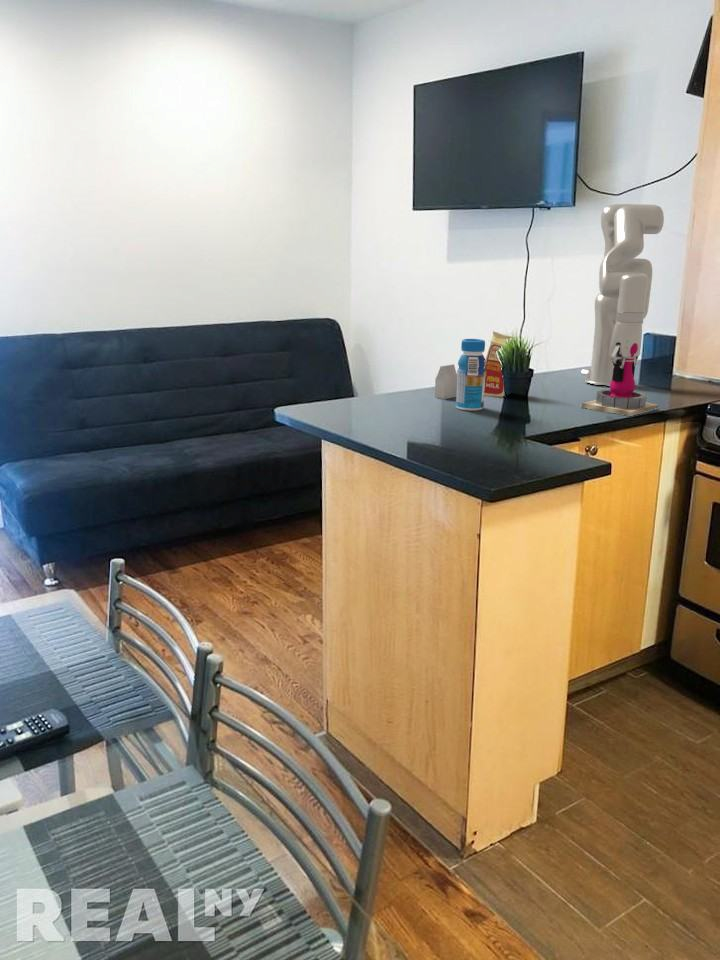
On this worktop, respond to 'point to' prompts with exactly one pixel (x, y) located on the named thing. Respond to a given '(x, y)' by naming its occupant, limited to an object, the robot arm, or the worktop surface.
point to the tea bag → (446, 382)
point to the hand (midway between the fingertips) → (622, 379)
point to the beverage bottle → (471, 375)
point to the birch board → (618, 410)
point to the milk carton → (494, 367)
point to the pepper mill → (625, 377)
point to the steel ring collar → (621, 400)
